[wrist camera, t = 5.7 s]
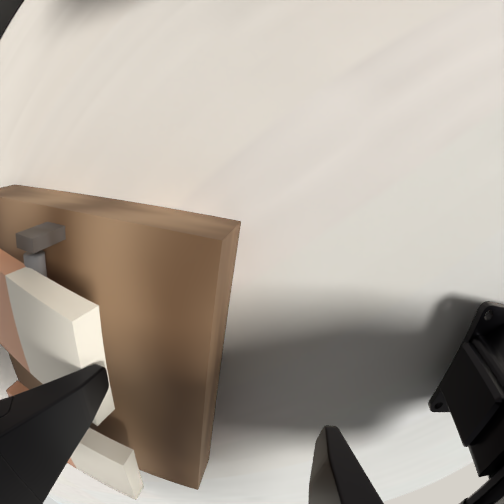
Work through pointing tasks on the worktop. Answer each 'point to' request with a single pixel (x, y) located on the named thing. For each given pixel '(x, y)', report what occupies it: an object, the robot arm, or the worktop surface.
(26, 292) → the rocker
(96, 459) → the block
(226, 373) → the worktop surface
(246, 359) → the worktop surface
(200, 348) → the switch unit
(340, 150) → the worktop surface
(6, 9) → the white and black block
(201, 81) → the worktop surface
